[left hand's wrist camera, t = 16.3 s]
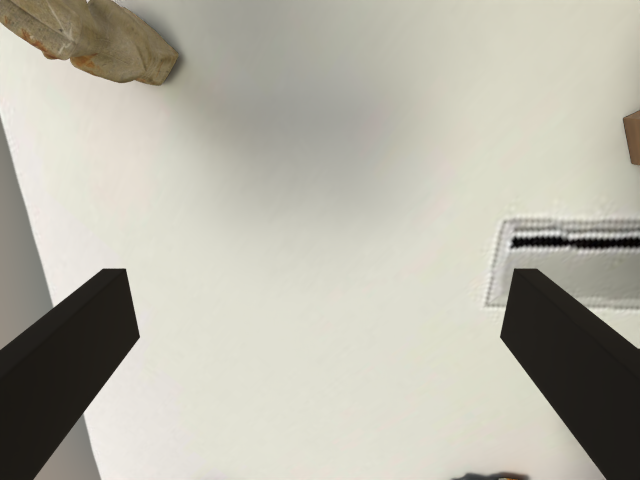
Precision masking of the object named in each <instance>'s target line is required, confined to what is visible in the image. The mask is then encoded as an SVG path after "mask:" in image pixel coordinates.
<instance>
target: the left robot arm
mask: <svg viewBox="0 0 640 480" xmlns="http://www.w3.org/2000/svg"><path fill="white" fill-rule="evenodd" d="M139 338H140V335H139V330H138V325H137V320H136V316H135V311H134V306H133V301H132V296H131V291H130V286H129V282H128V277H127V272H126V269H102V270H101V271H100V272H98V273H97V274H96V275H95V276H93V277H92V278H91V279H89V280H88V281H87V282H86V283H84V284H83V285H82V286H81V287H79V288H78V289H77V290H76V291H74V292H73V293H72V294H71V295H69V296H68V297H67V298H66V299H64V300H63V301H62V302H60V303H59V304H58V305H57V306H55V307H54V308H53V309H52V310H50V311H49V312H48V313H47V314H45V315H44V316H43V317H42V318H40V319H39V320H38V321H37V322H35V323H34V324H33V325H31V326H30V327H29V328H28V329H26V330H25V331H24V332H23V333H21V334H20V335H19V336H18V337H16V338H15V339H14V340H13V341H11V342H10V343H9V344H7V345H6V346H5V347H4V348H2V349H1V350H0V480H33V479H34V478H35V477H36V475H37V474H38V473H39V471H40V470H41V469H42V467H43V466H44V465H45V463H46V462H47V461H48V459H49V458H50V457H51V455H52V454H53V453H54V451H55V450H56V449H57V447H58V446H59V444H60V443H61V442H62V441H63V439H64V438H65V437H66V435H67V434H68V433H69V431H70V430H71V428H72V427H73V426H74V425H75V423H76V422H77V421H78V419H79V418H80V417H81V415H82V414H83V413H84V411H85V410H86V409H87V407H88V406H89V405H90V403H91V402H92V401H93V399H94V398H95V397H96V395H97V394H98V393H99V391H100V390H101V389H102V387H103V386H104V385H105V383H106V382H107V381H108V379H109V378H110V376H111V375H112V374H113V372H114V371H115V370H116V368H117V367H118V366H119V364H120V363H121V362H122V360H123V359H124V358H125V356H126V355H127V354H128V352H129V351H130V350H131V348H132V347H133V346H134V344H135V343H136V342H137V340H138V339H139ZM500 338H501V339H502V340H503V342H504V343H505V344H506V346H507V347H508V348H509V350H510V351H511V352H512V354H513V355H514V356H515V358H516V359H517V360H518V362H519V363H520V364H521V366H522V367H523V368H524V370H525V371H526V372H527V374H528V375H529V377H530V378H531V379H532V381H533V382H534V383H535V385H536V386H537V387H538V389H539V390H540V391H541V393H542V394H543V395H544V397H545V398H546V399H547V401H548V402H549V403H550V405H551V406H552V407H553V409H554V410H555V411H556V413H557V414H558V415H559V417H560V418H561V419H562V421H563V422H564V423H565V425H566V426H567V427H568V429H569V430H570V431H571V433H572V434H573V435H574V437H575V438H576V439H577V441H578V442H579V443H580V445H581V446H582V447H583V449H584V450H585V451H586V453H587V454H588V455H589V457H590V458H591V459H592V461H593V462H594V463H595V465H596V466H597V467H598V469H599V470H600V471H601V473H602V474H603V475H604V477H605V478H606V479H607V480H640V349H638V348H636V347H635V346H634V345H633V344H631V343H630V342H629V341H627V340H626V339H625V338H624V337H622V336H621V335H620V334H619V333H617V332H616V331H615V330H614V329H612V328H611V327H610V326H609V325H607V324H606V323H605V322H604V321H602V320H601V319H600V318H598V317H597V316H596V315H595V314H593V313H592V312H591V311H590V310H588V309H587V308H586V307H585V306H583V305H582V304H581V303H580V302H578V301H577V300H576V299H574V298H573V297H572V296H571V295H569V294H568V293H567V292H566V291H564V290H563V289H562V288H561V287H559V286H558V285H557V284H556V283H554V282H553V281H552V280H551V279H549V278H548V277H547V276H545V275H544V274H543V273H542V272H540V271H539V270H538V269H514V272H513V277H512V282H511V286H510V291H509V296H508V301H507V306H506V311H505V316H504V320H503V325H502V330H501V335H500Z"/></svg>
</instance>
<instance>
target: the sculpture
mask: <svg viewBox="0 0 640 480" xmlns="http://www.w3.org/2000/svg"><path fill="white" fill-rule="evenodd" d="M0 22H1V23H2V24H3V25H4V26H5V27H7V28H8V29H9V30H11V31H12V32H13V33H15V34H16V35H17V36H19V37H21V38H22V39H24V40H25V41H27V42H28V43H30V44H31V45H33V46H34V47H36V48H38V49H40V50H41V51H42V53H43V55H44V56H45V57H46V58H47V59H51V60H52V59H61V60H67V59H69V58H70V61H71V63H72V65H73V66H74V67H76V68H78V69H80V70H82V71H85V72H87V73H90V74H92V75H94V76H98V77H102V78H105V79H108V80H111V81H114V82H118V83H126V82H130V81H133V80H136V81H139V82H142V83H145V84H150V85H158V86H159V85H161V84H162V83H163V82H164V81H165V79H166V78H167V76H168V75H169V73H170V71H171V70H172V67H173V65H174V64H175V62H176V60H177V58H178V53H177V52H176V51H175V50H174V49H173V48H172V47H171V46H169V45H168V44H167V43H166V42H165V41H164V40H163V39H162V37H161V36H160V35H159V34H158V33H157V32H156V31H154V30H153V29H152V28H151V27H150V26H149V25H148V24H146V23H145V22H144V21H143V20H141V19H140V18H139V17H138V16H136V15H135V14H133V13H132V12H131V11H129V10H128V9H126V8H124V7H120V6H119V5H118V4H117V3H115V2H113V1H111V0H90V1H89V2H88V3H87V2H86V0H0Z"/></svg>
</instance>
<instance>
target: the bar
mask: <svg viewBox="0 0 640 480" xmlns="http://www.w3.org/2000/svg"><path fill="white" fill-rule="evenodd" d="M623 120H624V126H625V131H626V136H627V141H628V147H629V152H630V157H631V162H632V164H636V165H640V111H638V112H636V113H634V114H631V115H629V116H627V117H625V118H623Z"/></svg>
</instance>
